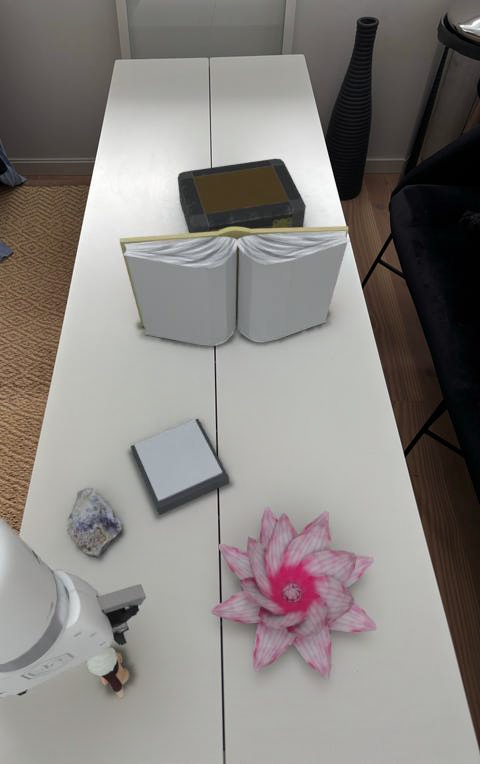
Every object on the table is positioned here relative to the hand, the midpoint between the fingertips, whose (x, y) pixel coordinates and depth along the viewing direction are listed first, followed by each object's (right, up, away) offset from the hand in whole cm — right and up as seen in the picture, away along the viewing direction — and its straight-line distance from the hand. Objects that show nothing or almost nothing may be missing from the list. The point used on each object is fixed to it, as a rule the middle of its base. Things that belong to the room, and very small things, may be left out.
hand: (71, 652), depth 53 cm
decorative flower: (+23, -5, +25) cm, 35 cm away
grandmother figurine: (0, -13, +20) cm, 23 cm away
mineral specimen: (-6, +4, +31) cm, 32 cm away
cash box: (+16, +64, +74) cm, 99 cm away
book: (+16, +36, +54) cm, 67 cm away
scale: (+7, +12, +37) cm, 39 cm away
